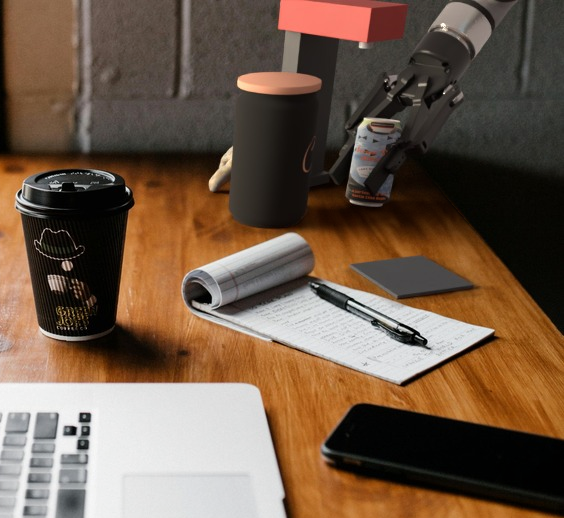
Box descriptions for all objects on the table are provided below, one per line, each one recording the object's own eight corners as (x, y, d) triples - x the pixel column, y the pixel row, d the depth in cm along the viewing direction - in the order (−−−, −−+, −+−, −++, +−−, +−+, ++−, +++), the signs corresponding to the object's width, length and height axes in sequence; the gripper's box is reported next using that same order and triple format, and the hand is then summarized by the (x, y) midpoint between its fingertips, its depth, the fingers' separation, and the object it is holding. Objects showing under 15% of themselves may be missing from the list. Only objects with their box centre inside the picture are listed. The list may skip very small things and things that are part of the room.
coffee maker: (301, 173, 137) (321, -8, 124) (388, 201, 125) (421, 3, 111) (257, 183, 133) (273, -4, 119) (342, 212, 120) (371, 8, 107)
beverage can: (341, 209, 122) (354, 121, 115) (347, 195, 127) (360, 110, 121) (387, 214, 120) (403, 125, 114) (391, 199, 126) (406, 114, 119)
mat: (420, 257, 105) (421, 254, 105) (473, 288, 97) (474, 284, 97) (349, 267, 103) (349, 264, 103) (397, 298, 95) (397, 295, 95)
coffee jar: (312, 230, 114) (329, 87, 105) (231, 229, 114) (242, 86, 105) (298, 205, 123) (313, 71, 114) (224, 205, 123) (233, 71, 114)
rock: (224, 159, 145) (227, 115, 141) (255, 161, 144) (259, 117, 140) (206, 194, 128) (210, 145, 124) (241, 197, 127) (246, 148, 123)
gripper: (515, 76, 116) (414, 216, 117) (403, 57, 129) (313, 184, 130) (501, 36, 111) (395, 184, 111) (385, 21, 124) (291, 153, 124)
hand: (351, 184), depth 120 cm, fingers closed on beverage can, 6 cm apart
